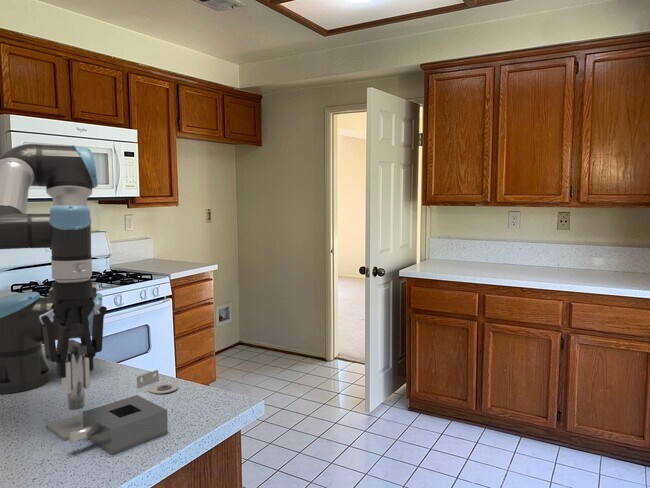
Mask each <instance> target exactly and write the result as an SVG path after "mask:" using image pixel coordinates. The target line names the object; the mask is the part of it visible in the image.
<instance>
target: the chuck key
mask: <svg viewBox="0 0 650 488" xmlns="http://www.w3.org/2000/svg"><path fill="white" fill-rule="evenodd" d="M84 354H87V345H84V344H82V343H81V342H79V341H76V340H74V339H69V344H68V352H67V359H66V360H67V361H69V362H70V367H71V393H69V394H67V408H68V410H70V411H76V410H80V409H84V408H85V406H86V400H85V399H86V397H85V395H86V393H85V388H84V357H83V356H84Z"/></svg>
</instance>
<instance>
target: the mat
mask: <svg viewBox="0 0 650 488" xmlns="http://www.w3.org/2000/svg"><path fill="white" fill-rule="evenodd" d="M45 426H46V427H45V428H47V429H48V430H49V431H51V432H52V433H53V434H54V435H56V436H57V437H58V438H61V439H62V440H63V441H67V440H68V441H69V438H68V435H69V433H70V432H73V431H76V430H79V429H82V428H83V412H82V413H79V414H75V415H72V416H70V417H66V418H65V417H64V418H63V419H60V420H57V421H54V422H50V423H47V424H45Z"/></svg>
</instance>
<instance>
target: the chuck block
mask: <svg viewBox="0 0 650 488" xmlns="http://www.w3.org/2000/svg"><path fill="white" fill-rule="evenodd" d="M82 413H83V428H82V429H79V430H76V431H73V432H70V433H69V435H68V438H69V439H68V441H69V443H70V444H73V443H77V442H81V441H83V440H86V439H88V440H90V441H91V442H92V443H94V444H95V445H96V446H99V447H100V448H101V449H103V450H104V451H106V452H107V453H109V454H110V455H115V454H117V453H120V452H122V451H125V450H128V449H131V448H133V447H136V446H138V445H141V444H143V443H146V442H149V441H151V440H153V439H156V438H158V437H161V436H164V435H165V434H168V429H169V427H168V426H169V425H168V409H167V408H164V407H162V406H160V405H158V404H156V403H154V402H152V401H150V400H148V399H146V398H144V397H142V396H140V395H138V394H136V395H133V396H129V397H126V398H123V399H120V400H117V401H114V402H110V403H107V404H106V403H105V404H104V405H100V406H97V407H94V408H90V409H86V410H84V411H82Z"/></svg>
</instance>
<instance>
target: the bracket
mask: <svg viewBox="0 0 650 488" xmlns="http://www.w3.org/2000/svg"><path fill="white" fill-rule="evenodd" d="M154 375H155V376H154ZM159 375H160V374H159V369H155V370H153V371H150V372H146V373H144V374H140V375H137V376H136V385H137V386H136V389H139V388H140V387H141V388H143V386H144V387H146V386H149V385H151V384H154V383H157V382H160V379H159V378H160V376H159ZM141 378H142V381H141ZM141 388H140V389H141ZM178 388H179V386H178V385H177V384H174V383H173V384H172V383H168V382H161V383H158V384H156V385H153V386H150V388H149V387H148V388H147V389H146V390H144V389H143V391H144V392H147V393H150V392H151V394H155V395H156V394H157V395H159V394H160V395H161V394H167V393H172V392H174V391H176V390H178Z"/></svg>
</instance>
